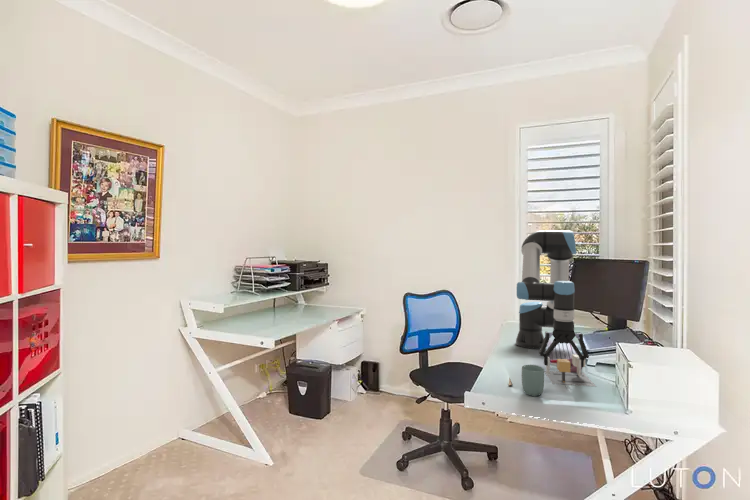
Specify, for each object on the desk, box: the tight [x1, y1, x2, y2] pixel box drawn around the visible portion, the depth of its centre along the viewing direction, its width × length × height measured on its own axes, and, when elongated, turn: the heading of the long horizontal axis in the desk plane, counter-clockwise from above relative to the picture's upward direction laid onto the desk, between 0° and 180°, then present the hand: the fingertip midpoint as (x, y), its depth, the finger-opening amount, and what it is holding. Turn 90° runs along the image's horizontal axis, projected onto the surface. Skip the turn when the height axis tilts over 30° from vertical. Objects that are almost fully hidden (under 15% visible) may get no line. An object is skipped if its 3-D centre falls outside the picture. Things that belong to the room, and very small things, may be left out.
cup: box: [521, 364, 545, 397], centre depth 152 cm, size 8×8×10 cm
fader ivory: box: [571, 353, 586, 368], centre depth 168 cm, size 4×4×8 cm
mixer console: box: [544, 370, 597, 387], centre depth 165 cm, size 16×16×1 cm
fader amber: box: [556, 358, 571, 381], centre depth 162 cm, size 4×4×8 cm
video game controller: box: [568, 357, 583, 372], centre depth 177 cm, size 10×5×7 cm, turn 169°
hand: (563, 374), depth 162 cm, fingers open, 11 cm apart
